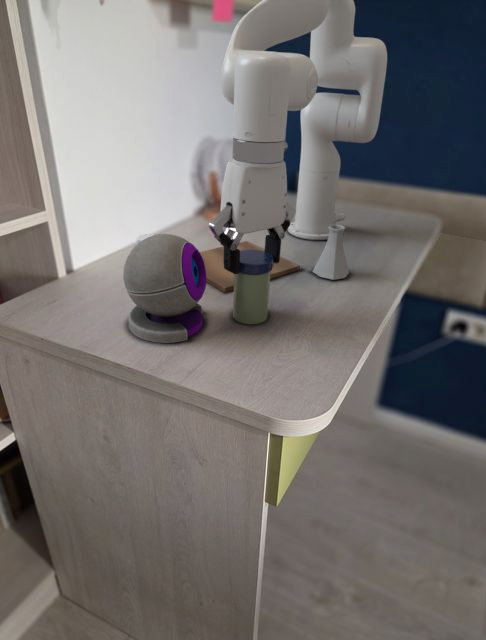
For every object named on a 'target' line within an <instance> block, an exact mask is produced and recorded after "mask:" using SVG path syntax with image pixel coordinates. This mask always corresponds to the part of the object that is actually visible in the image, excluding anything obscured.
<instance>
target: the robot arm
mask: <svg viewBox="0 0 486 640" xmlns="http://www.w3.org/2000/svg"><path fill="white" fill-rule="evenodd" d="M355 16H356V5H355V2H354V0H261V1H260V2H258V3H257V4H256V5H254V7H252V8H250V10H248V12H246V13H245V14H244V15H243V16H242V18H241V19H239V21H238V23H237V24H236V25H235V27H234V29H233V31H232V34H231V36H230V39H229V42H228V45H227V48H226V51H225V54H224V56H223V57H224V58H223V61H222V66H221V71H220V88H221V93H222V95H223V96H224V98H225V100H226V101H227V102H228V103H230V104H231V105H233V119H232V120H233V121H232V124H233V125H232V156H231V157H232V159H231V160H230V161H228V162H227V163H226V168H225V171H224V176H223V181H222V189H221V199H220V211H219V213H218V214H217V215H216V216H215V217H214V218H213V219H212V220H211V221H210V222H209V224H208V228H209V230H210V231H211V232H212V234H213V235H214V238H215V239H216V240H217V241H218V242H219V243H220V246H221V247H224V268H225V269H226V270H228V271H229V272H231V273H233V274H238V273H239V267H240V250H239V249H237V247H238V245H239V243H240V242H242V239H243V237H244V235H245V234H252V233H256V232H260V231H265V230H267V233H268V234H266V235H265V239H264V240H265V241H264V249H265V252H267V253H270V254H271V255H272V256H273V261H274V263H279V261H280V256H281V249H282V240H284V239H285V237H286V232H288V233H289V234H291V235H292V236H294V237H297V238H300V239H304V240H309V241H310V240H311V241H326V240H328V237H329V231H330V230H329V229H328V227H329V226H330V225H335V224H336V223H337V222H342V221H344V220H345V217H346V216H345V214H344V213H343V212H340V213H335V209H336V201H337V195H338V186H339V179H340V171H341V165H342V164H341V162H342V161H341V156H340V154H339V151H338V150H337V148H336V146H335V144H334V142H346V143H356V144H366V143H369V142H371V141H372V140H373V139H374V138H375V137H376V134H377V133H378V129H379V124H380V118H381V113H382V112H381V111H382V104H383V103H382V102H383V96H384V90H385V83H386V75H387V66H388V51H387V46H386V44H385V42H384V41H383V40H381V39H380V38H375V37H362V36H355V35H354V28H355ZM309 33H310V47H309V56H307V55H304V54H302V53H297V52H296V53H295V52H280V51H273V50H272V51H270V50H269V51H268V49H269V48H272V47H274V46H276V45H279V44H281V43H285V42H288V41H291V40H294V39H296V38H299V37H302V36H304V35H306V34H309ZM318 87H319V88H320V87H321V88H326V89H338V90H349V91H357V92H358V94H345V93H336V92H317V90H318ZM296 111H297V112H298V111H300V133H301V135H300V137H301V140H300V141H301V142H300V143H301V144H300V147H301V148H300V159H299V161H300V162H299V172H298V182H297V193H296V203H295V204H296V205H295V207H293V206H292V205H291V204H290V203H288V200H287V199H288V179H287V177H288V175H287V166H286V165H287V164H286V161H285V160H284V158H285V151H287V150H288V147H289V146H288V143H287V141H286V137H287V135H286V134H287V122H288V112H296ZM293 218H294V221H293V222H292V220H293ZM224 228H226V229H225V231H224Z"/></svg>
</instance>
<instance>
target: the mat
mask: <svg viewBox="0 0 486 640" xmlns="http://www.w3.org/2000/svg"><path fill="white" fill-rule="evenodd" d="M237 249H239V250H240V251H242V250H260V251H265V248H263V247H261V246H260V245H259V246H258V245H256V244H255V243H252V242H250V241H248V240H245V241H240V243H239V245H238V247H237ZM199 252H200V254H201V256H202V258H203V261H204V264H205V269H206V283H208V284H210V285H211V286H213V287H215V288H216V289H218V290H220V291H221V292H223V293H228V292H231V291H234V274H233V273H231V272H229V271H228V270H226V269H225V268H224V246H220V247H215V248H211V249H207V250H202V251H199ZM300 270H301V265H300V264H298V263H296V262H294V261H291V260H289V259H287V258H285V257H283V256H281V255H280V261H279V263H274V265H273V269H272V270H271V272H270V280H272V279H274V278H278V277H282V276H285V275H287V274H291V273H293V272H297V271H300Z"/></svg>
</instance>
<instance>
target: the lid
mask: <svg viewBox="0 0 486 640" xmlns="http://www.w3.org/2000/svg"><path fill="white" fill-rule="evenodd" d="M273 265H274V261H273V256H272V255H271V254H270V253H267V252H265V251H260V250H242V251H240V267H239V272H241V273H244V274H252V275H253V274H264V273H268V272H270V271H271V270H272V269H273Z"/></svg>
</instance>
